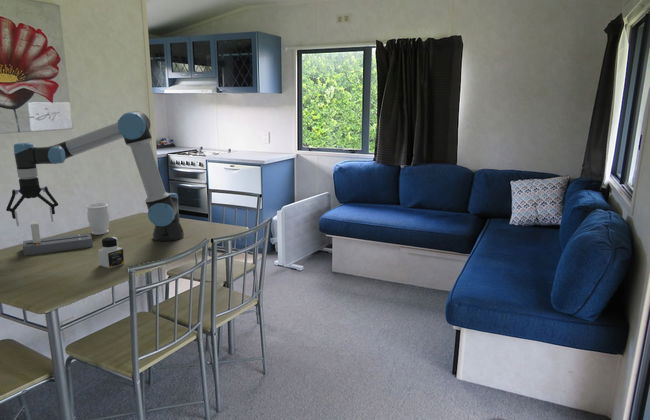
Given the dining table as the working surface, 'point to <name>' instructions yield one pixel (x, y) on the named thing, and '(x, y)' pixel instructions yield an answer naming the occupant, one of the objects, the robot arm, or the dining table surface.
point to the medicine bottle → (110, 253)
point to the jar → (98, 218)
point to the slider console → (57, 244)
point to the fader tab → (35, 232)
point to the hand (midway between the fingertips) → (35, 223)
